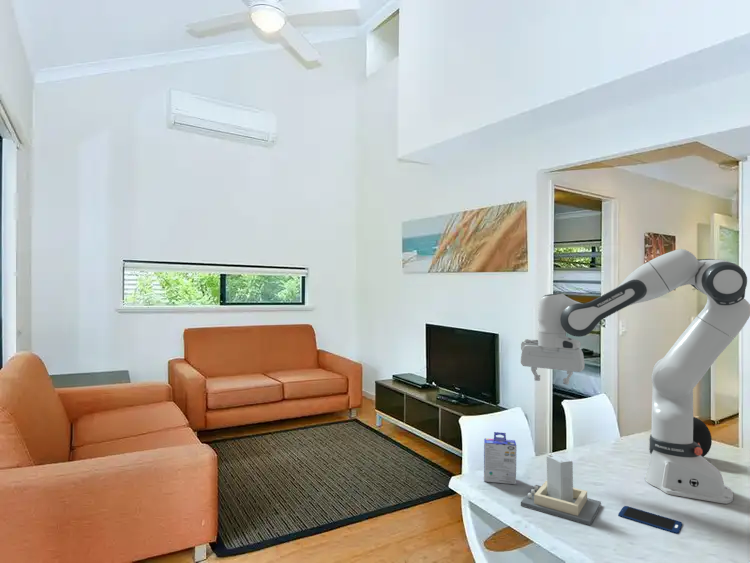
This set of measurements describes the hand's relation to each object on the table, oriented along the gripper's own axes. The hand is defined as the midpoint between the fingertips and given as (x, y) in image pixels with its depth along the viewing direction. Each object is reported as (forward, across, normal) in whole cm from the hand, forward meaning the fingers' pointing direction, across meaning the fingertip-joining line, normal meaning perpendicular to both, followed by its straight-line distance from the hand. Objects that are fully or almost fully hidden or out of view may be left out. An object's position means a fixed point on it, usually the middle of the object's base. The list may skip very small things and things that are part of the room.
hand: (551, 382), depth 158 cm
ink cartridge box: (+29, -10, -20) cm, 37 cm away
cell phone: (+30, +31, -20) cm, 47 cm away
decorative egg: (+29, +38, +40) cm, 62 cm away
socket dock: (+29, +10, -26) cm, 40 cm away
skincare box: (+28, +9, -26) cm, 39 cm away
